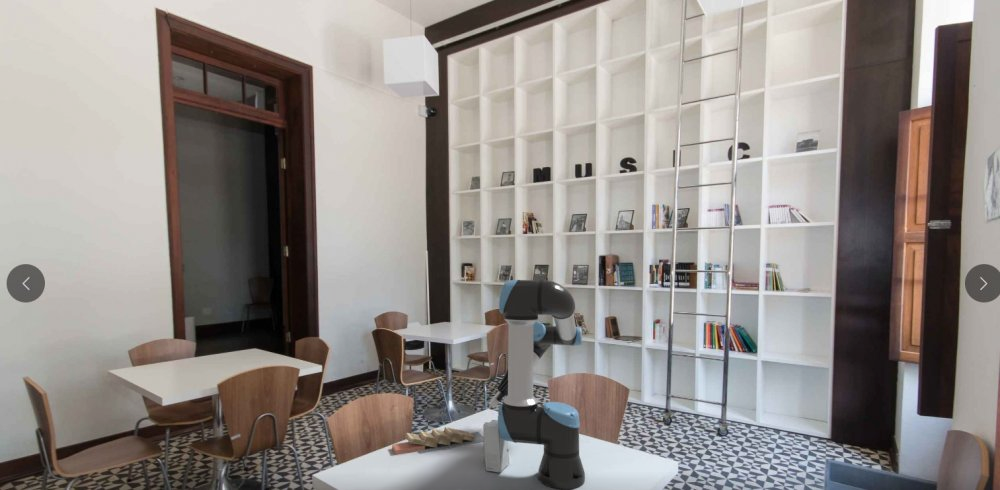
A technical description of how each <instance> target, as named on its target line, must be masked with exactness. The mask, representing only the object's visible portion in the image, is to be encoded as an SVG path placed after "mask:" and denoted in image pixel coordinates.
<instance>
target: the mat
mask: <svg viewBox="0 0 1000 490" xmlns="http://www.w3.org/2000/svg"><path fill="white" fill-rule="evenodd" d="M470 433H471V434H472V435H473V436H474V437H475V439H474V441H470V440H465V439H463V440H462V443H457V442H452V441H451V442H450V445H444V444H439V443H437V447H430V446H425V450H421V451H417V453H418V454H427V453H430V452H437V451H443V450H447V449H453V448H460V447H464V446H465V447H466V446H471V445H475V444H476V445H477V444H481V443H484V437H483V434H481V433H480V432H479V431H475V432H470Z"/></svg>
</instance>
